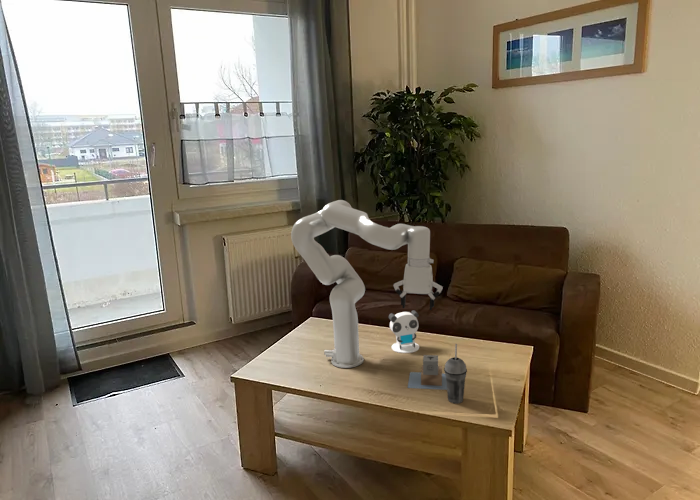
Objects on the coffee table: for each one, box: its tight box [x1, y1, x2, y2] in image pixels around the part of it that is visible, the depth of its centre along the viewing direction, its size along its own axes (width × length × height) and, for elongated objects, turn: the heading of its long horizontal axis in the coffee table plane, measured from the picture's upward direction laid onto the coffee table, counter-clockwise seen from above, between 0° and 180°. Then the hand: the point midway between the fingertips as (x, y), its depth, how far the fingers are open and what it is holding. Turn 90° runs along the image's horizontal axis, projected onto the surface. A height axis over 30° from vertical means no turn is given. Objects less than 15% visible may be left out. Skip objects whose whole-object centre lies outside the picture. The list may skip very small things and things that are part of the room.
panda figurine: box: [388, 309, 420, 354], centre depth 215 cm, size 12×11×15 cm
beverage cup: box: [443, 343, 468, 405], centre depth 170 cm, size 7×7×20 cm
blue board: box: [407, 371, 447, 391], centre depth 185 cm, size 16×12×1 cm
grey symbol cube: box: [422, 354, 439, 375], centre depth 183 cm, size 5×5×5 cm
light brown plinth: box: [420, 364, 443, 386], centre depth 185 cm, size 7×7×4 cm
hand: (417, 307), depth 189 cm, fingers open, 9 cm apart
